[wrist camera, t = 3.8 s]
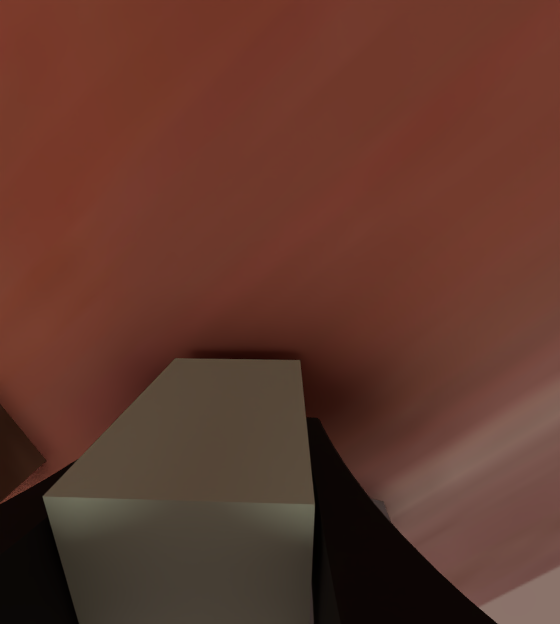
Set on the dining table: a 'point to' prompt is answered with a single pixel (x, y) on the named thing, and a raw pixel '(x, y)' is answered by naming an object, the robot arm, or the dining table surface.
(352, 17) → the dining table surface
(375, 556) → the robot arm
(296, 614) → the sage block
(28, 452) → the walnut block
